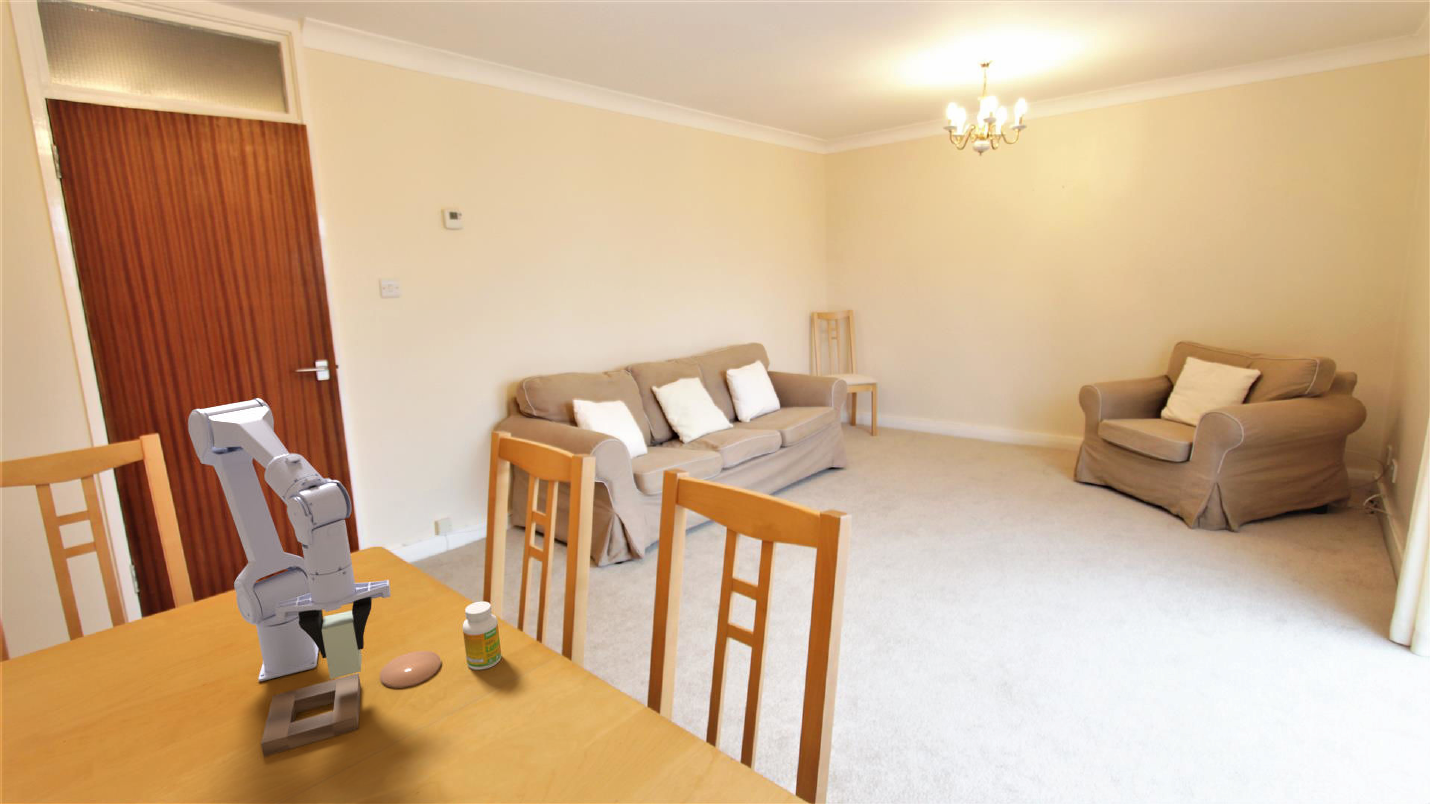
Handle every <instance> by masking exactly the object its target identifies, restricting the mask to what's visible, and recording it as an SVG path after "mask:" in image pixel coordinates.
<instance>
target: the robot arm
mask: <svg viewBox="0 0 1430 804" xmlns="http://www.w3.org/2000/svg"><path fill="white" fill-rule="evenodd" d="M187 421H188V422H187V425H188V430H187V431H188V434H189V436H190V439H191V443H192V445H193V448H194V451H195V454H196V456H197V458H198V459H199V461H200V463H201V464H204V465H208V466H212V467H213V468H214V470H215V472H216V474H217V476H218V479H219V482H220V485H221V488H222V491H223V493H224V496H225V499H226V502H227V505H228V508H229V511H230V513H231V517H232V519H233V522H234V525H235V527H236V531H237V533H238V537H239V539H240V542H241V544H242V547H243V550H244V553H245V556H246V558H247V559H246V560H247V561H248V562H247V564H246V566H244V568H242V570H241V572H240V573H239V574H238V576H237V577H236V579H235V581H234V582H233V584H234V585H233V587H234V590H235V594H236V604H237V608H238V611H239V613H240V615H241V617H242V618H243V620H244V621H245V622H246V623H248V624H251V625H253V626H255V628H256V633H257V637H258V642H259V643H258V644H259V648H260V652H261V657H262V665H261V669H260V671H259V674H258V677H257V679H258V681H259V682H263V681H267V680H271V679H272V680H273V679H274V678H275V679H276V678H279V677H284V676H288V675H292V674H295V673H299V672H303V671H304V672H305V671H307V670H312V669H314V668H316V667H317V664H318V657H319V653H320V654H321V657H322V659H327V658H326V652H325V647H324V641H323V635H322V624H323V619H324V616H323V611H324V612H331V611H336V610H339V609H341V608H342V606H346V605H349V604H352V608H351V611H352V615H353V619H354V623H355V628H356V636H357V647H358V650H360V649H361V650H363V649H364V646H365V640H364V638H365V637H364V635H365V630H366V625H367V622H368V618H369V617H370V613H371V610H372V602H373V599H377V598H378V599H379V598H383V599H387V598H391V586H390V585H391V584H390V580H389V579H386V580H379V581H369V582H356V581H355V574H354V567H353V562H352V557H351V549H350V543H349V537H348V536H349V535H348V531H347V525H346V520H345V519H347V518H349V517H350V515H351V514H352V501H351V497H350V494H349V492H348V491H347V489H346V487H345V486H344V485H343V484H342V482H341V481H339V480H338V479H331V478H330V477H328V478H324V477H322V475H321V474H320V473H319V472H318V471H317V470H316V469H315V467H313V466H312V465H311V463H310V462H309V461H307V459H306V458H305V457H304V456H303V455H301V454H299V453H290V452H289V450H288V449H287V448H286V446H285V445H284V444H283V443H282V441H281V440H280V438H279V437H278V436H277V435H276V433H275V430H274V428H275V427H274V425H275V420H274V416H273V412H272V409H271V408H270V406H269V404H267V402H266V401H264V400H263V399H261V398H260V397H259V398H258V397H257V398H253V399H251V400H247V401H240V402H234V403H228V404H223V405H218V406H213V407H207V408H201V409H200V408H196V409H193V410H192V411H191V412H190V414H189V416H188V420H187ZM253 460H255V461H256V462H257V463H258V464H260V465H261V466H262V468H264V469H265V471H264V474H263V475H264V481H265V482H266V483H267V484H268V486H269V487H270V488H271V489H272V490H273V491H274V492H275V494H276V495H277V496H279V498H280V499H281V501H283V503H284V504H285V505H286V506H287V508H286V513H287V516H288V519H289V522H290V524H291V525H292V527H293V530H294V533H295V538H296V539H297V542H298V543H301V547H302V553H303V557H302V556H299V555H296V554H293V553H289V552H285V551H284V549H283V547H282V543H281V541H280V537H279V534H278V532H277V529H276V526H275V523H274V521H273V517H272V516H271V512H270V510H269V506H268V503H267V501H266V498H265V495H264V492H263V490H262V487H261V484H260V481H259V478H258V475H257V472H256V469H255V467H254V464H253ZM283 570H285V571H284V572H281V573H278V572H280V571H283ZM286 570H287V571H286ZM275 573H278V574H275ZM272 574H275V575H273V576H270V575H272ZM267 576H270V577H267ZM265 577H267V578H265ZM262 578H264V579H263V580H260V579H262ZM258 580H260V581H258Z"/></svg>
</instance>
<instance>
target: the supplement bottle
mask: <svg viewBox="0 0 1430 804" xmlns="http://www.w3.org/2000/svg"><path fill="white" fill-rule="evenodd" d="M464 612H465V620H464V621H463V623H462V634H463V635H462V636H463V642H464V650H465V659H466V665H467V666H468V667H469V668H470V669H471V670H477V671H479V670H487V669H489V668H493V667H494V666H496V665H497V664H498V663H499V662H500V661H501V659H502V651H501V650H502V649H501V641H500V633H499V631H500V630H499V623H498V618H497V616H496V615H495V614H493V613H492V605H491V603H490V602H488V601H476V602H472V603H471V604H469V605H467V606H466V607H465V609H464Z"/></svg>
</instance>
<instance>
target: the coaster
mask: <svg viewBox="0 0 1430 804" xmlns="http://www.w3.org/2000/svg"><path fill="white" fill-rule="evenodd" d="M441 665H442V660H441V657H440V655H439V654H437V653H436V652H433V651H429V650H417V651H412V652H407V653H403V654H401V655H399V656H396V657H394V658H393V659H391V660H390V661H388V662H387V663H386V664H385V665H384V666H382V668H381V670H380V672H379V679H380V683H381V684H383V685H384V686H385V687H387V688H394V689H400V688H401V689H403V688H408V687H412V686H416V685H419V684H421V683H423V682H426V681H427V680H428V679H430V678H432V677H433V676H435V675H436V674H437V673H438V672H439V670H440V668H441V667H442V666H441Z"/></svg>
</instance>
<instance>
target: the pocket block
mask: <svg viewBox="0 0 1430 804" xmlns="http://www.w3.org/2000/svg"><path fill="white" fill-rule="evenodd" d="M361 685H362V684H361V679H360V673H359V672H357V673H353V674H350V675H346V676H342V677H338V678H334V679H330V680H327V681H323V682H319V683H316V684H313V685H308V686H305V687H301V688H297V689H294V690H289V691H285V692H281V693H278V694H273V695H272V698H271V699H272V700H271V703H270V706H269V711H268V714H267V718H266V723H265V726H264V730H263V734H262V738H261V741H260V745H261V746H260V747H261V750H262V755H263V757H266V756H270V755H273V754H277V753H280V752H284V751H288V750H291V749H295V748H297V747H302V746H305V745H308V744H312V743H315V742H318V741H322V740H325V739H328V738H332V737H336V736H339V735H343V734H346V733H350V732H353V731H356V730H359V723H360V722H359V718H360V702H361V698H360V697H361ZM331 704H333V710H331V711H328V712H325V713H322V714H318V715H315V716H311V717H307V718H303V719H300V720H296V716H297V714H298V713H302V712H304V711H308V710H312V709H315V708H319V707H323V706H326V705H331Z"/></svg>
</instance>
